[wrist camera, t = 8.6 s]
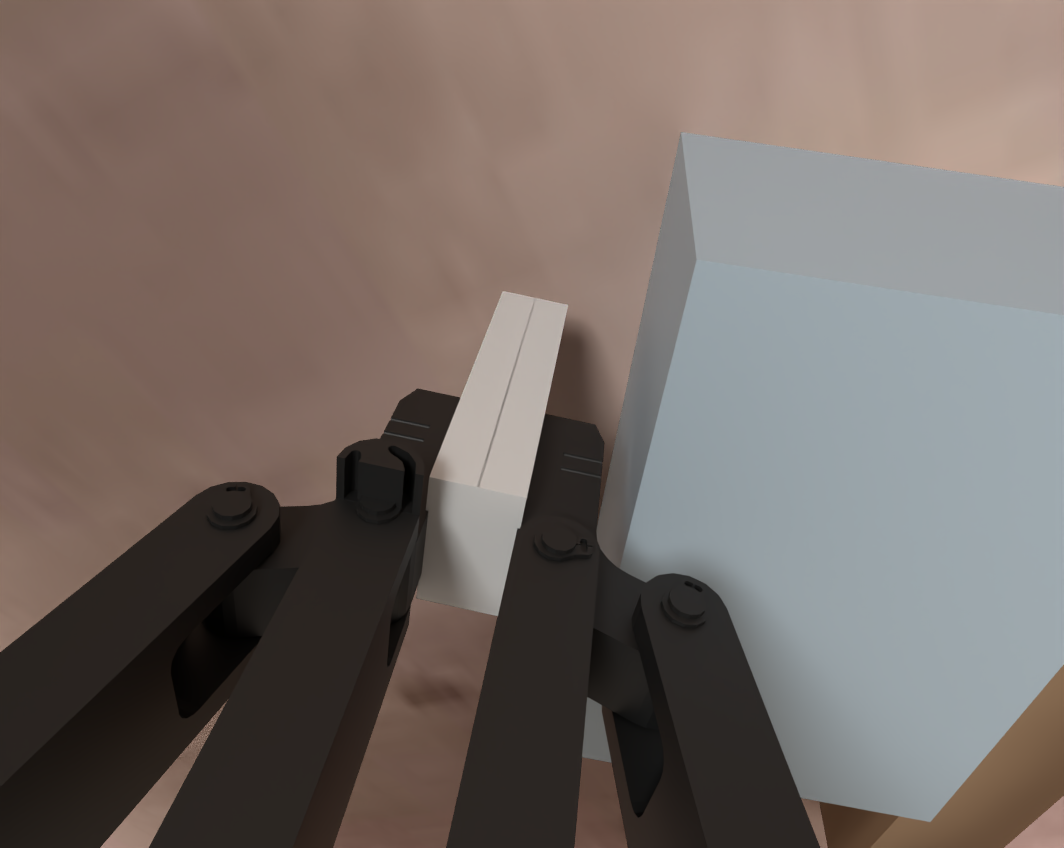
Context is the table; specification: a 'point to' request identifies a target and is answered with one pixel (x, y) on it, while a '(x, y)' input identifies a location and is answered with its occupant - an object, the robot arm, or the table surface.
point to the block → (855, 453)
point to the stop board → (977, 791)
